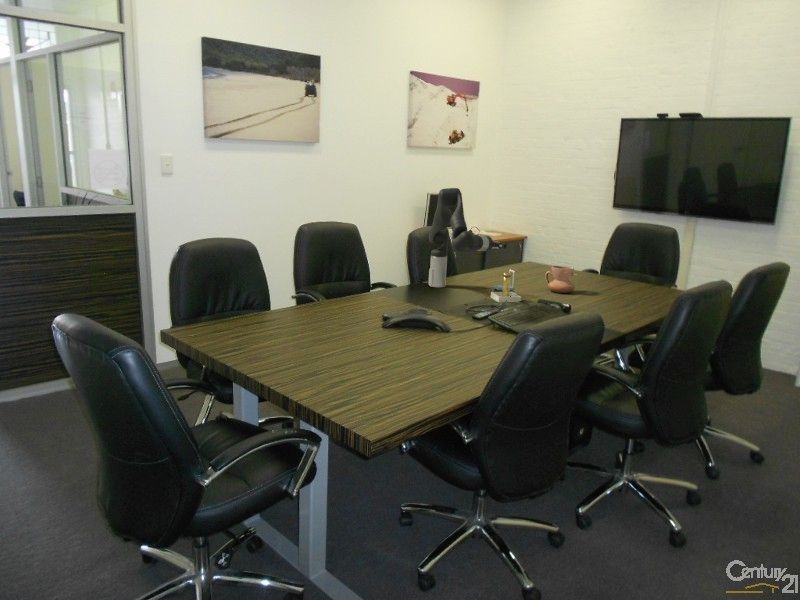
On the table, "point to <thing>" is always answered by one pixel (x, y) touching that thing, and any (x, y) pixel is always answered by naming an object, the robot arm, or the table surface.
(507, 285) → the stop pin
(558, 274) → the ceramic jug
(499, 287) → the trolley
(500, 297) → the tray
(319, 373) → the table surface
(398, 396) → the table surface
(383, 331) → the table surface
